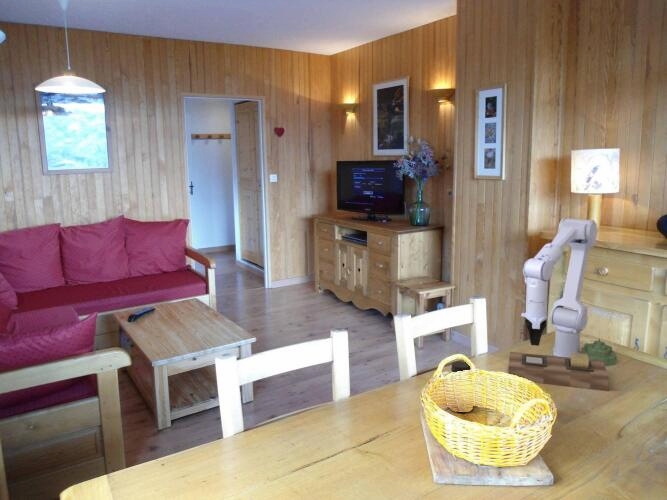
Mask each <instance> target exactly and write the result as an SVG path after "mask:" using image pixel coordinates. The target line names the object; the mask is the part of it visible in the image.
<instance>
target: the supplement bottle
mask: <svg viewBox="0 0 667 500" xmlns="http://www.w3.org/2000/svg"><path fill="white" fill-rule="evenodd" d="M466 362H467V361H464V360H458V361H453V362H452V363H451V368H450V371H451V372H457V371H463V370H470V369H471V370H472V368H470V366H469V365H468V364H467V363H466Z"/></svg>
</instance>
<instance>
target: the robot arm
mask: <svg viewBox="0 0 667 500" xmlns="http://www.w3.org/2000/svg"><path fill="white" fill-rule="evenodd" d="M557 227H558V230H557V234H556V235H555V237H554V238H553V240H552V241H551V242H549V243H545V245H543V247H542V248H541V249H540V250H539V251H538V252H537V253H536V255H535V256H534V257H533V258H529V259H527V260H526V261H525V262H524V265H523V268H522V274H523V276H524V283H525V284H526V290H525V291H526V293H525V294H526V295H525V312H521V317H523V318H526V319H525V326H526V328H527V331H528V335H529V343H530V345H531V346H539V345H540V342H541V340H542V339H541V338H542V334H543V331H544V330H545V329H546V326H547V321H546V320H548V313H547V312H548V291H549V288H548V287H549V280H550V279H551V278H552V275H553V272H554V270H555V265H556V264H557V263H558V262H559V260H560V259H561V258H562V257H563V251H562V250H564V249H565V248H566V247H567V246H570V249H571V252H570V257H569V264H568V269H567V273H566V274H567V275H566V279H565V285H564V288H563V289H564V290H563V295H562V297H561V298H559V299H557V300H556V301H554V303H553V306H552V309H551V310H550V313H549V321H550V323H551V324H552V325H553V329H555V332H554V333H555V335H554V338H555V339H554V346H552V354H553V355H552V356H558V357H569V358H570V353H580V354H581V351H580V343H581V342H580V341H581V340H580V339H581V332H582V331H584V330H585V329H586V327H587V324H588V320H589V319H588V313H589V312H588V307H587V306H586V305H585V303H583V301H582V300H581V295H582V290H583V285H584V279H585V273H586V268H587V264H588V263H587V262H588V257H589V254H590V253H589V252H590V249H592V248H595V245H596V241H597V236H598V226H597V223H596V220H594V219H579V218H567V217H563V218H562V219H561V220H560V222H559V224H558V226H557Z"/></svg>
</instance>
